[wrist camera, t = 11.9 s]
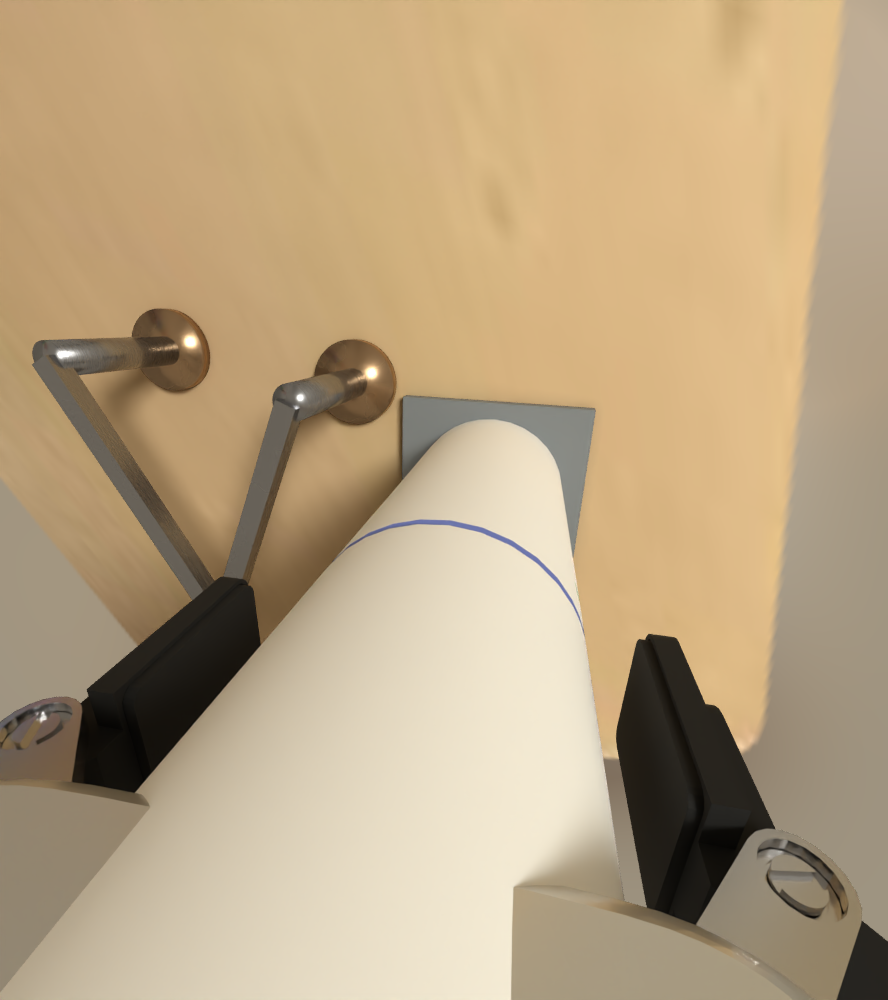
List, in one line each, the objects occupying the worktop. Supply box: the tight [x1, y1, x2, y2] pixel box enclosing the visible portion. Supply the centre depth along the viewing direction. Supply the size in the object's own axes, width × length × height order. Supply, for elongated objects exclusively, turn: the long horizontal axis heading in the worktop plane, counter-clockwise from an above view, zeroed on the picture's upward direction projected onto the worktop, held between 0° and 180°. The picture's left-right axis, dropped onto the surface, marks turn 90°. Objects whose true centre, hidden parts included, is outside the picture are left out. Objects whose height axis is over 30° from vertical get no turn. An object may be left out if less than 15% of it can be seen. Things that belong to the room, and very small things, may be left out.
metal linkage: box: [32, 309, 396, 600], centre depth 22 cm, size 14×14×8 cm
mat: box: [402, 395, 596, 556], centre depth 24 cm, size 9×9×1 cm
